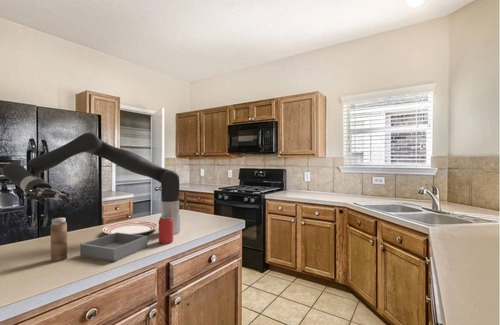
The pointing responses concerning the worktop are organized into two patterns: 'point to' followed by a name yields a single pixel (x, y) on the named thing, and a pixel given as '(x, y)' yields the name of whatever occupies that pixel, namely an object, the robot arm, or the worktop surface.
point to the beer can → (165, 229)
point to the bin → (113, 246)
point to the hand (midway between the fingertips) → (57, 201)
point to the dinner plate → (130, 227)
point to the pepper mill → (58, 239)
